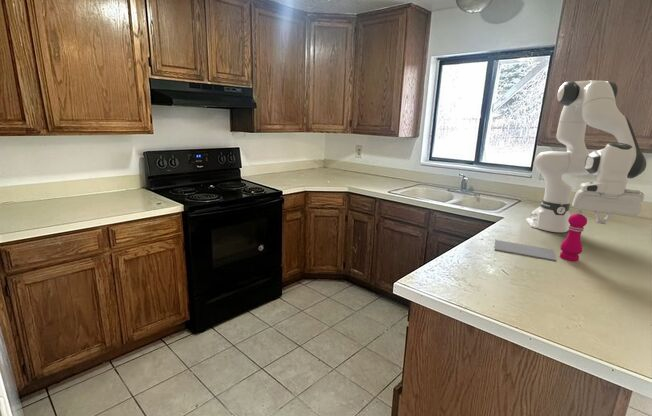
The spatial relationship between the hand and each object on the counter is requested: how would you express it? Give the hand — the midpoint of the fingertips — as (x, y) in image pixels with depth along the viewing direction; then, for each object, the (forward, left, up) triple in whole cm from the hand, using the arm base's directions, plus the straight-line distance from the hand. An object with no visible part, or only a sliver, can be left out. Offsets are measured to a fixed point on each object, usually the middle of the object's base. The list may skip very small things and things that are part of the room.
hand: (600, 223), depth 133 cm
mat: (-8, -22, -16) cm, 28 cm away
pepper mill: (-2, -7, -16) cm, 18 cm away
